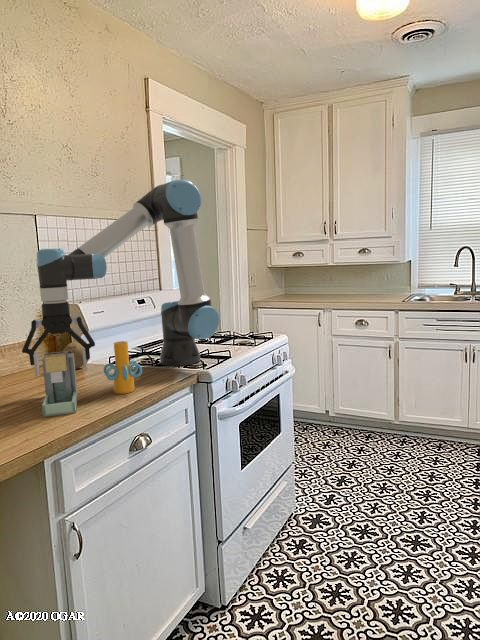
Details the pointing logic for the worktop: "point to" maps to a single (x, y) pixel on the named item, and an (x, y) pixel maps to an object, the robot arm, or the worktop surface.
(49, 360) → the block
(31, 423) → the worktop surface
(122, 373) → the cylinder
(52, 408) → the tray
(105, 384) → the worktop surface
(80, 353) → the natural sponge
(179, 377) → the worktop surface
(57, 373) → the shaft
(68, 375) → the housing
